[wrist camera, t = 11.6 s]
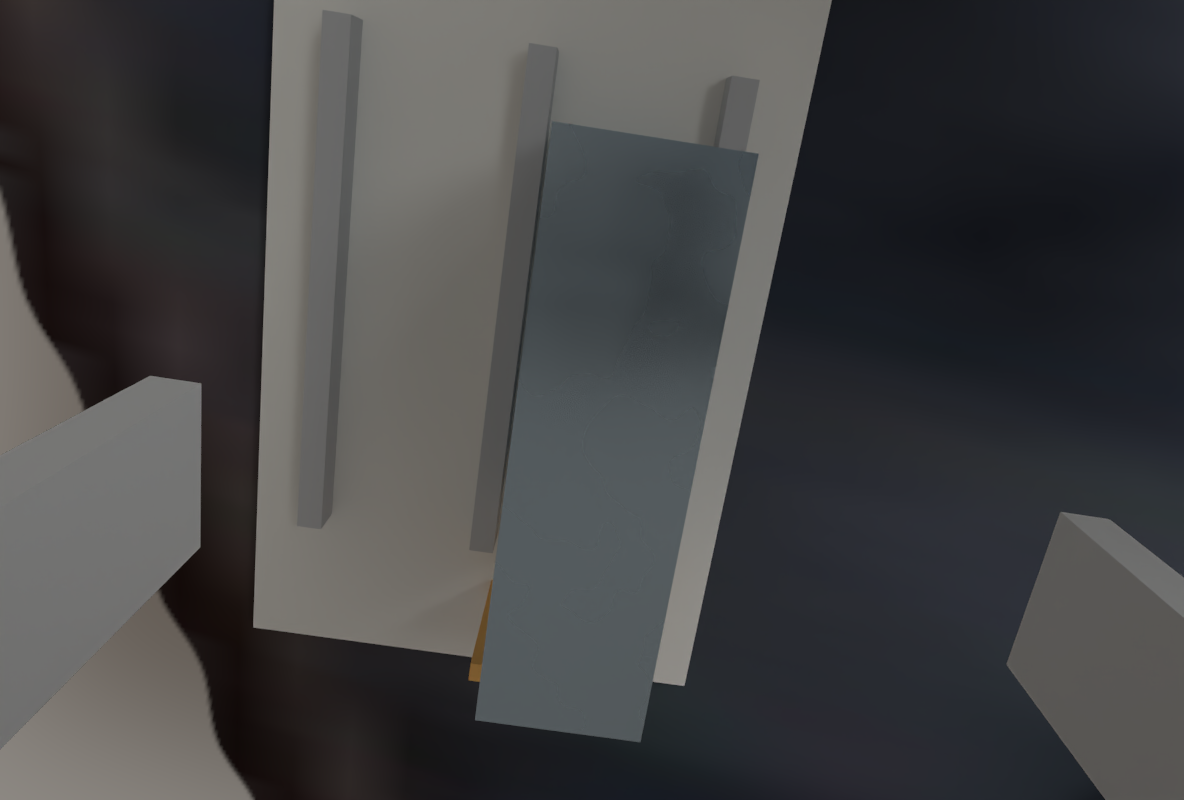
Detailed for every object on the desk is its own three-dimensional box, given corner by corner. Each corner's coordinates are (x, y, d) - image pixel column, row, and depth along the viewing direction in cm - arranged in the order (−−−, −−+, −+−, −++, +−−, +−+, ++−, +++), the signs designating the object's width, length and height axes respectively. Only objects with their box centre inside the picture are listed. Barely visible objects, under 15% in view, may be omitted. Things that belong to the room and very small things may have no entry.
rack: (287, -185, 24) (196, -278, 18) (846, -91, 24) (916, -155, 19) (259, 618, 31) (189, 717, 26) (682, 676, 32) (698, 784, 27)
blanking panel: (574, 127, 25) (552, 120, 14) (688, 146, 26) (758, 153, 14) (525, 489, 29) (475, 720, 18) (625, 504, 29) (640, 741, 18)
